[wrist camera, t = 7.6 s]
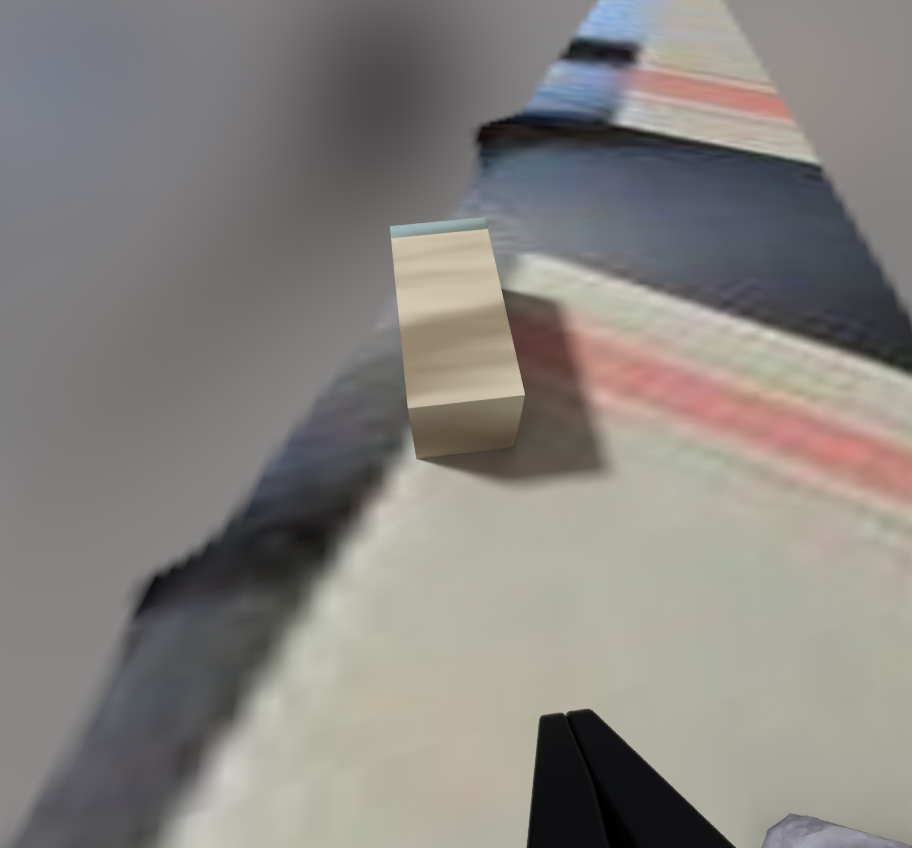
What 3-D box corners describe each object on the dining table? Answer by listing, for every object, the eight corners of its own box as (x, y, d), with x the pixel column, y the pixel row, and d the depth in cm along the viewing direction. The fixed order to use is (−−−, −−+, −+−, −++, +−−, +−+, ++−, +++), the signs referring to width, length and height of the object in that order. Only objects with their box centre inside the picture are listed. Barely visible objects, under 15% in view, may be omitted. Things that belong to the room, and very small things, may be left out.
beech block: (524, 395, 20) (484, 217, 25) (408, 408, 20) (390, 226, 25) (514, 447, 24) (481, 285, 29) (416, 459, 24) (399, 293, 29)
